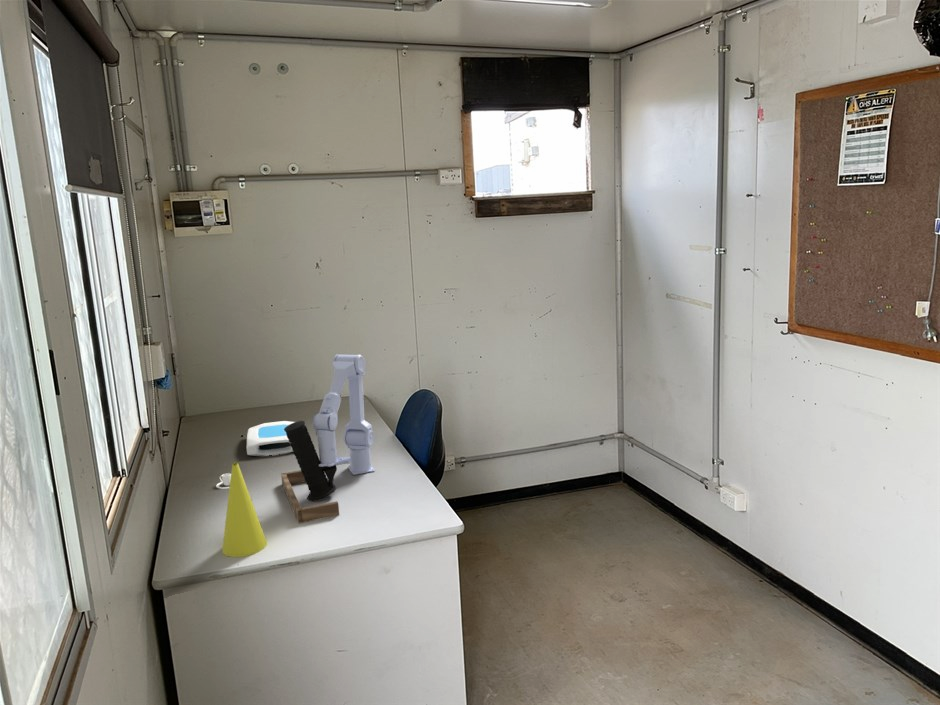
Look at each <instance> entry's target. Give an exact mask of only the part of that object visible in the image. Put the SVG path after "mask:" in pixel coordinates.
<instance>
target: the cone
mask: <svg viewBox="0 0 940 705" xmlns="http://www.w3.org/2000/svg"><path fill="white" fill-rule="evenodd" d="M230 474H231V480H230V485H229V487H230V488H228V489H229V491H228V498H227V499H228V500H227V507H226V515H225V523H224V524H225V525H224V531H223V532H224V533H223V534H224V535H223V541H222V548H221V552H222V554H223V555H225V556H226V557H231V558H240V557H248V556H250V555H251V556H252V555H254V554H257V553H259V552H261V551H262V550H264V549H265V548H266V547H267V546H268V545H267V544H268V542H267V539H266V536H265V534H264V531H263V528H262V525H261V523H260V520H259V517H258V514H257V511H256V509H255V507H254V503H253V501H252V498H251V495H250V492H249V489H248V486H247V484H246V481H245V479H244V476H243V472H242V470H241V468H240V465H239V463H238V461H235V462H233V464H231V472H230Z"/></svg>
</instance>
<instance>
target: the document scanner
mask: <svg viewBox="0 0 940 705" xmlns="http://www.w3.org/2000/svg"><path fill="white" fill-rule="evenodd" d="M294 422H295V421H288V420H282V421H273V422H272V421H271V422H264V423H261V424H258V425H255V426H252V427H251V426H250V428H248V429H247V435H246V446H245V447H246V453H247V454H246V455H247V456H253V457H255V456H256V457H270V456H269V455H272V456H280V455H287V454H290V453H294V451H293V450H292V447H291V445H289V446H287V447H286V446H285V447H280V448H279V447H278V448H271V449H260V447H259V446H264V445H270V444H280V443H281V444H282V443H289V444H290V442H289V439H288V438H287V435H286V432H285V431H284V428H285V427H287V426H288V425H290V424H292V423H294ZM279 454H280V455H279Z"/></svg>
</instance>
